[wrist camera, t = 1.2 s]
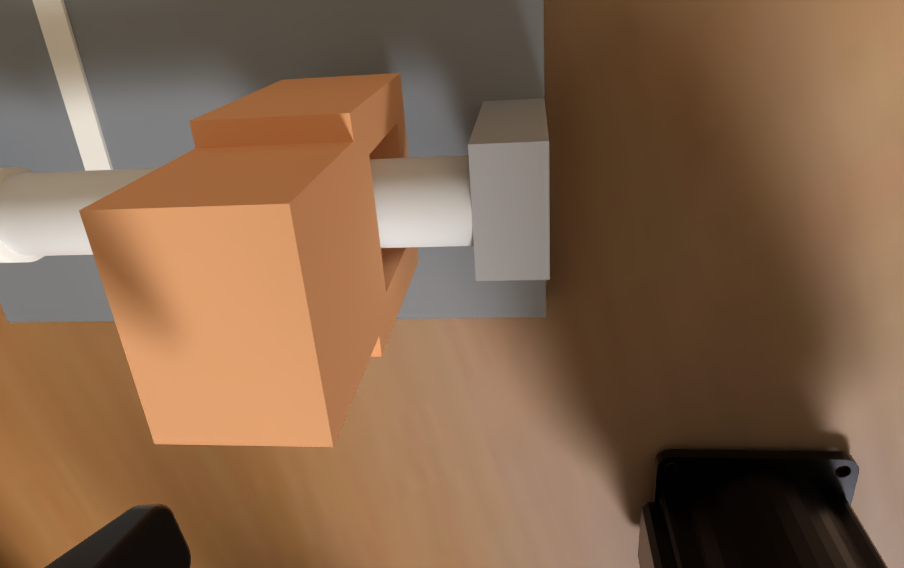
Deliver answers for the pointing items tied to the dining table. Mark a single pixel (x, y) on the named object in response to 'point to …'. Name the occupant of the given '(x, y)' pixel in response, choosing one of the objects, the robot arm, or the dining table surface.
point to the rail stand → (248, 70)
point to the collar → (258, 265)
